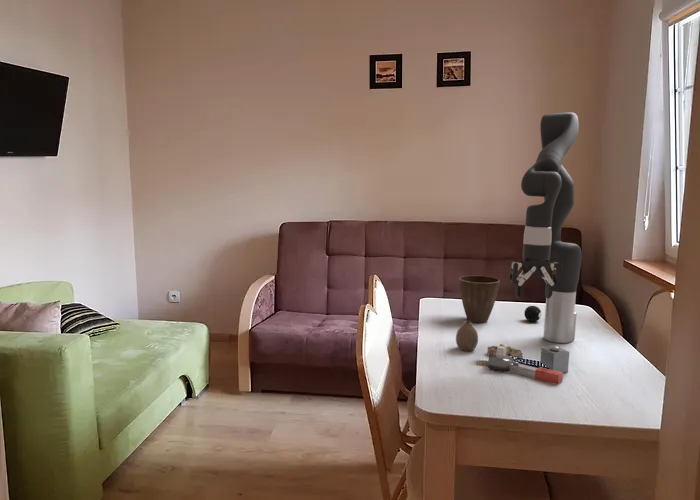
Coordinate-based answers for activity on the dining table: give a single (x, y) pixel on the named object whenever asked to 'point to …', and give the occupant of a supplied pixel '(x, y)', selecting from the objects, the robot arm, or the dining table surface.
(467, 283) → the plant pot
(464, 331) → the vase
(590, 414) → the dining table surface
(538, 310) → the billiard ball
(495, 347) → the mineral rock
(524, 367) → the ratchet
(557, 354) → the domed steel cube
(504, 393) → the dining table surface
